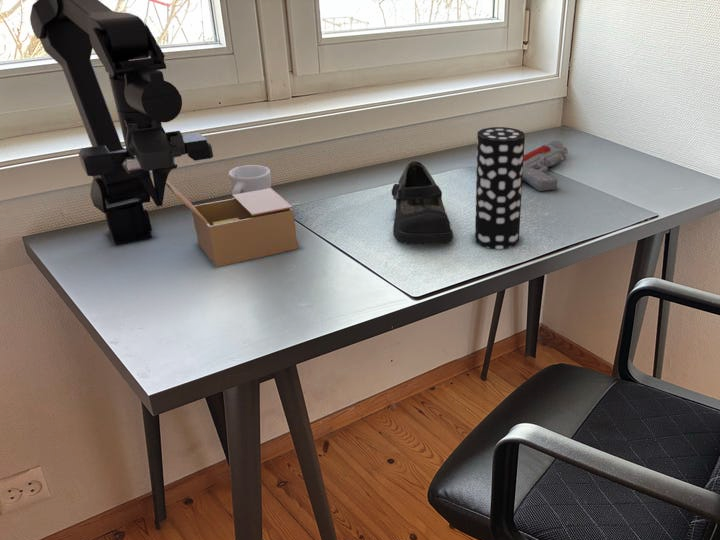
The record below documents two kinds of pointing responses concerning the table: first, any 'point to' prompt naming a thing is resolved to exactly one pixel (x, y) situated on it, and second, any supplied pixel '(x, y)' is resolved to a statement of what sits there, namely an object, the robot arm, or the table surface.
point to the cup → (249, 178)
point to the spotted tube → (499, 186)
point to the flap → (185, 200)
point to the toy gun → (542, 165)
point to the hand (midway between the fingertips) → (159, 205)
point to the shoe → (419, 208)
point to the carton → (246, 227)
